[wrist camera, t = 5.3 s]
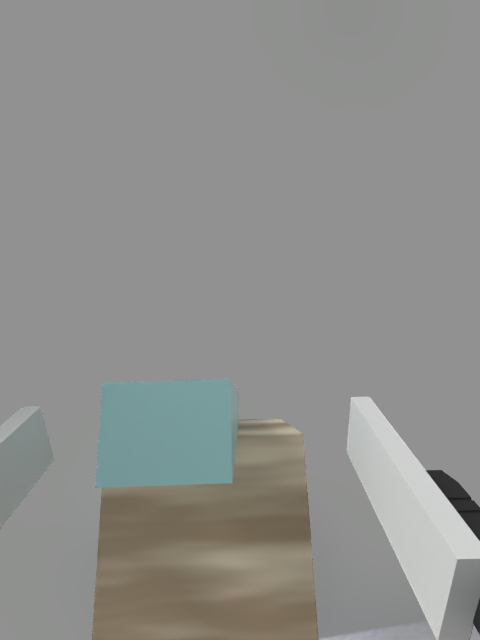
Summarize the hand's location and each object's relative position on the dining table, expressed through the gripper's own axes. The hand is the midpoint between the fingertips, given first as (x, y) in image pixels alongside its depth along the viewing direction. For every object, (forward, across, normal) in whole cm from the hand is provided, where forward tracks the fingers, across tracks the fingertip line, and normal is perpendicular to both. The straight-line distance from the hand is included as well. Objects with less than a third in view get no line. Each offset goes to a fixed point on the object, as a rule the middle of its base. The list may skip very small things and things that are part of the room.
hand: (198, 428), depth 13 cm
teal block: (+7, 0, -6) cm, 9 cm away
